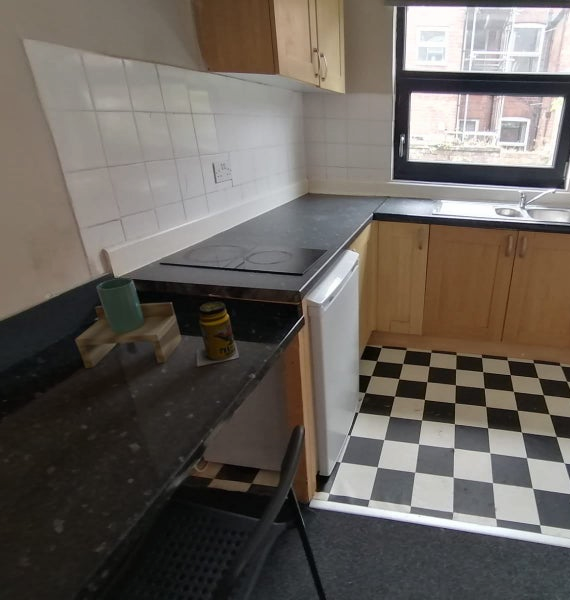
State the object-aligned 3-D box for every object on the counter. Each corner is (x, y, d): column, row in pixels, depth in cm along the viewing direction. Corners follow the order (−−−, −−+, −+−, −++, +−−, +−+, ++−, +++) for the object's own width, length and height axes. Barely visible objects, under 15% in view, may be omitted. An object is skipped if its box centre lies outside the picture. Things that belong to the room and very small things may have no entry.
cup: (103, 330, 86) (88, 287, 82) (130, 317, 92) (117, 276, 88) (126, 334, 84) (112, 291, 80) (151, 321, 90) (140, 280, 86)
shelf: (85, 368, 86) (69, 326, 81) (110, 344, 95) (97, 305, 90) (165, 362, 87) (153, 321, 83) (181, 339, 96) (172, 302, 92)
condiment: (239, 358, 89) (229, 309, 84) (197, 367, 86) (184, 317, 81) (235, 343, 95) (226, 296, 90) (196, 351, 92) (184, 303, 87)
